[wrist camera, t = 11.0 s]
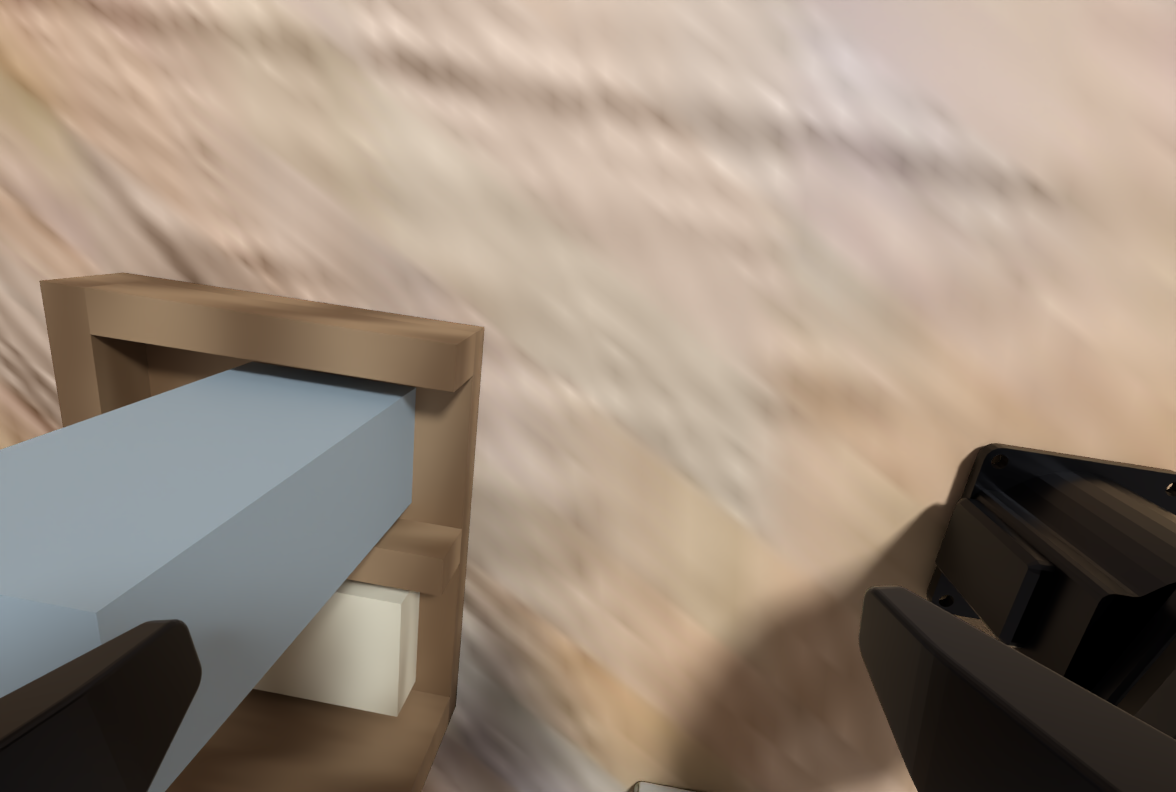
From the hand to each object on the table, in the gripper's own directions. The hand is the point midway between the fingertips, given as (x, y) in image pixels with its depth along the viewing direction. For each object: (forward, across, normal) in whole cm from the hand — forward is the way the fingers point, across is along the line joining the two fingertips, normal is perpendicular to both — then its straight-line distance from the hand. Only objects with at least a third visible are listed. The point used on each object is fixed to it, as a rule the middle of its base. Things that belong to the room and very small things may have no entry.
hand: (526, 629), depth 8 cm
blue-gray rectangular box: (+13, +8, +2) cm, 16 cm away
